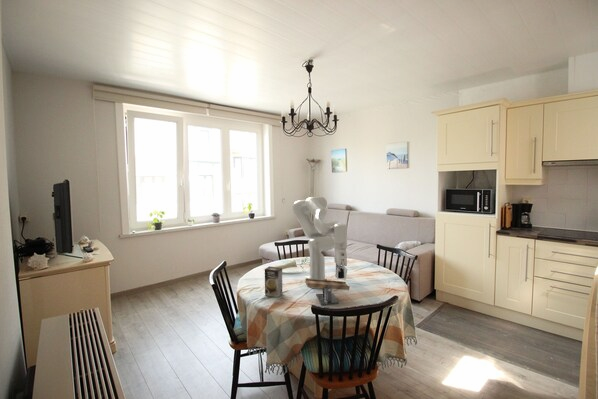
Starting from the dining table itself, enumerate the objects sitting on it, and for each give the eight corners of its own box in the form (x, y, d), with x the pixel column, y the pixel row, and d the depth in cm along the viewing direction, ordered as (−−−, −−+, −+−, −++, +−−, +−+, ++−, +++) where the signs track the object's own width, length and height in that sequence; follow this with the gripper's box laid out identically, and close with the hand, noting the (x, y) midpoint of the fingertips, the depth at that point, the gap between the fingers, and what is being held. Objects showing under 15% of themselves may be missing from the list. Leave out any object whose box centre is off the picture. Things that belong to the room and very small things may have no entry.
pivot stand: (321, 305, 156) (320, 287, 156) (316, 295, 169) (315, 279, 168) (338, 303, 158) (338, 286, 157) (332, 294, 171) (332, 278, 170)
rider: (337, 279, 162) (338, 268, 161) (335, 276, 166) (336, 266, 166) (345, 279, 163) (347, 269, 162) (343, 276, 167) (344, 267, 166)
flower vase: (274, 281, 215) (318, 269, 218) (273, 282, 203) (320, 269, 206) (270, 265, 217) (314, 253, 220) (269, 265, 205) (316, 253, 208)
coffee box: (264, 295, 170) (264, 269, 169) (269, 291, 176) (268, 265, 175) (278, 297, 167) (277, 270, 166) (282, 293, 173) (282, 267, 172)
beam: (307, 287, 157) (308, 283, 157) (305, 282, 165) (305, 278, 165) (349, 290, 161) (349, 286, 161) (344, 285, 168) (345, 281, 168)
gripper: (351, 248, 155) (350, 281, 156) (342, 241, 171) (341, 271, 173) (338, 249, 154) (337, 282, 155) (329, 242, 170) (329, 271, 172)
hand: (339, 276), depth 164 cm, fingers closed on rider, 4 cm apart
